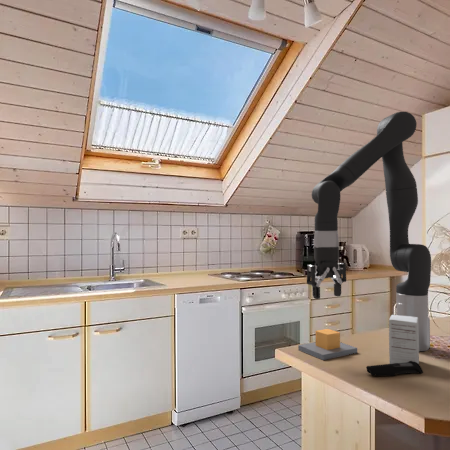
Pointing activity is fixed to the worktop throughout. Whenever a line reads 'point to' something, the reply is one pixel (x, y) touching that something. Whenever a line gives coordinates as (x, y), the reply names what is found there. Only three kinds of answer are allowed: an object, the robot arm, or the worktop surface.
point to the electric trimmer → (394, 369)
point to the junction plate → (327, 354)
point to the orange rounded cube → (327, 339)
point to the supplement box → (403, 339)
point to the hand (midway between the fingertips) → (327, 297)
